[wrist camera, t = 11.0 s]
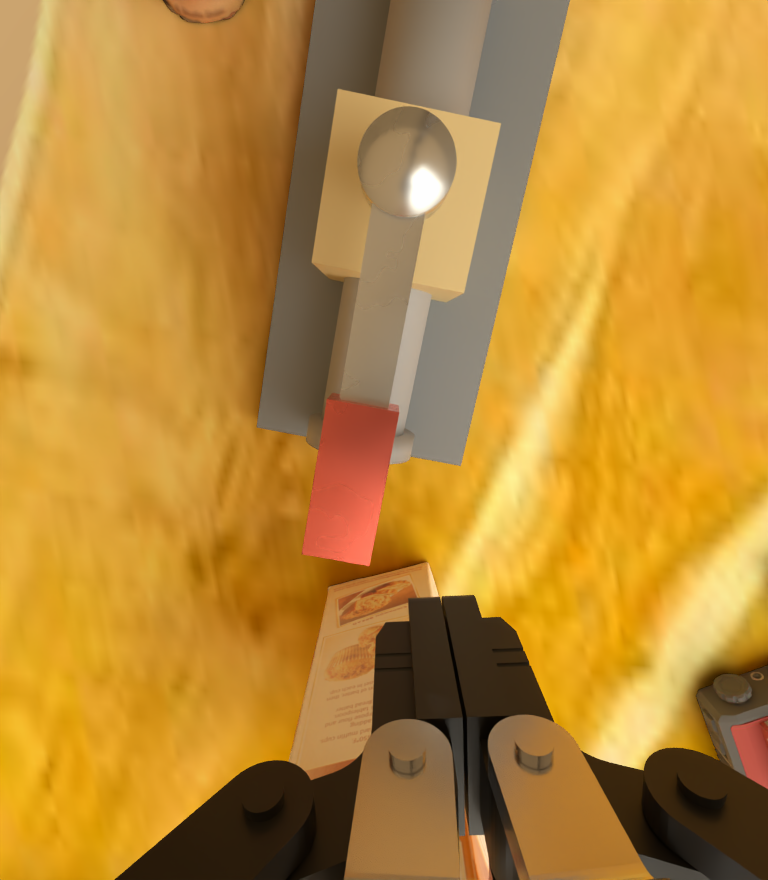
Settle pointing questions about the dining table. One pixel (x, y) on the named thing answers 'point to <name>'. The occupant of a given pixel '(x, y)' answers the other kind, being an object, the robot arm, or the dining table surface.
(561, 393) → the dining table surface
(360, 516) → the lever
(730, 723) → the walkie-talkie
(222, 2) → the figurine
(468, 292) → the valve stand
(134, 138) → the dining table surface
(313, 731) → the coffeecake box
